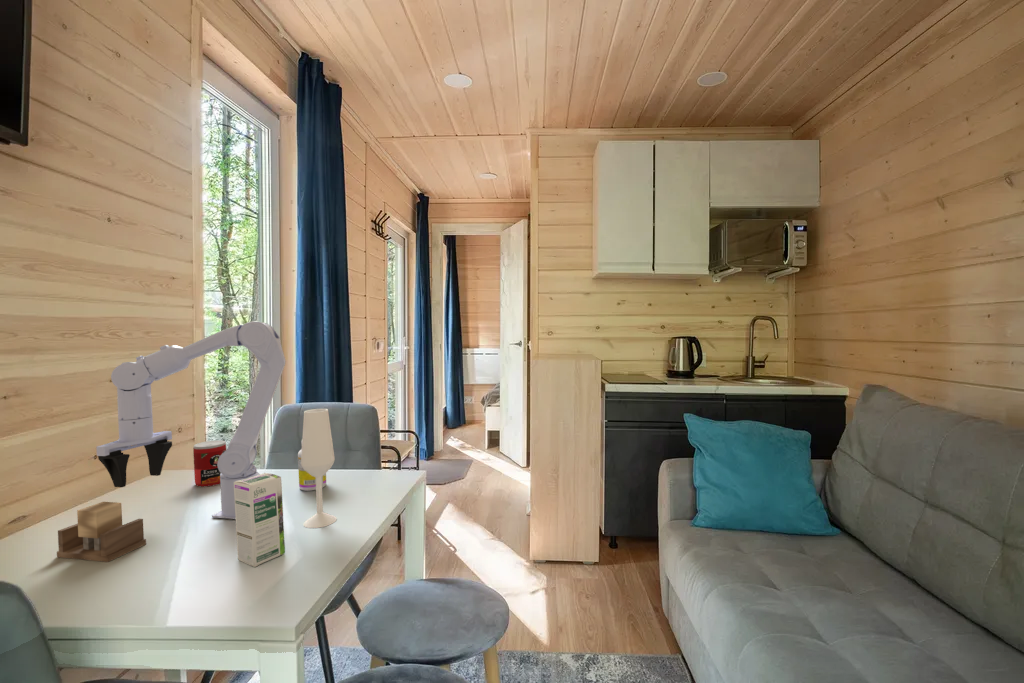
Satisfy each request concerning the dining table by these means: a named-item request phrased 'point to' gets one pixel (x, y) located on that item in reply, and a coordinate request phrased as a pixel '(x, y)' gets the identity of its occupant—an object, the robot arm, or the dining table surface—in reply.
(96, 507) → the light wooden block
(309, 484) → the supplement bottle
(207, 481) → the canned food
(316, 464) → the champagne flute
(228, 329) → the robot arm
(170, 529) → the dining table surface
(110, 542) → the stand
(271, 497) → the syrup box
